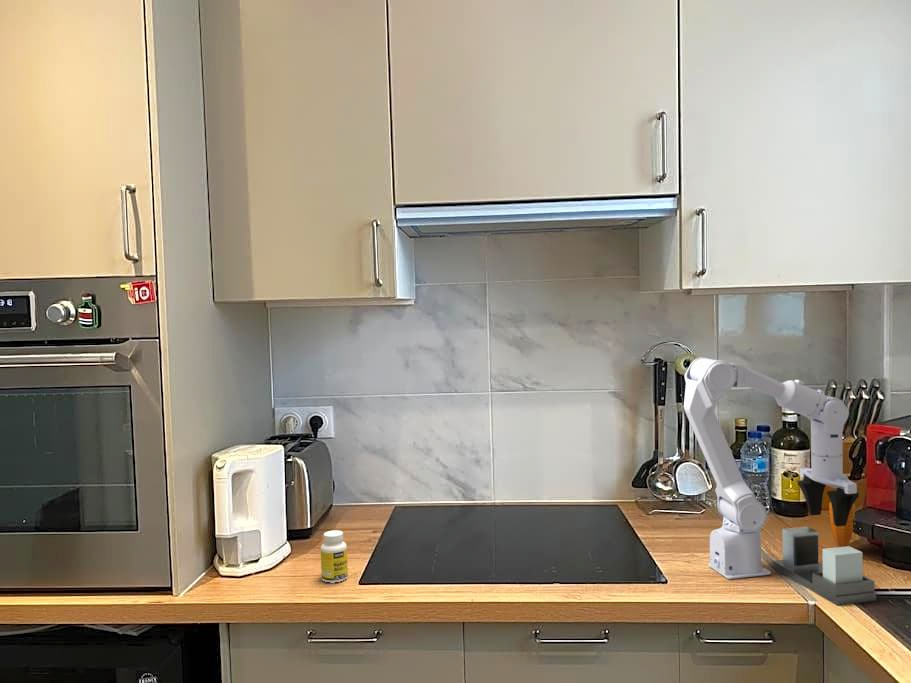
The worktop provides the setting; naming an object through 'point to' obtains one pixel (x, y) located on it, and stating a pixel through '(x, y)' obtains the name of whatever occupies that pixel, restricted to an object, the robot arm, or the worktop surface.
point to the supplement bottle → (334, 557)
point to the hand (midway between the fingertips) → (827, 519)
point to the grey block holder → (817, 569)
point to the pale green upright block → (842, 564)
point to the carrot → (842, 528)
